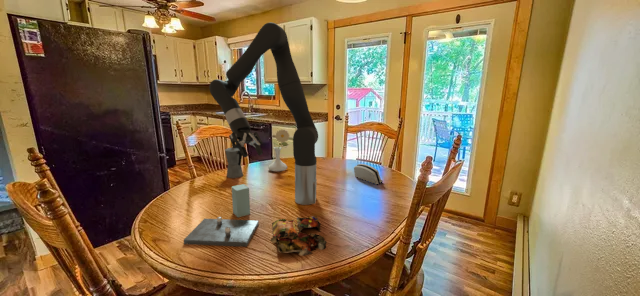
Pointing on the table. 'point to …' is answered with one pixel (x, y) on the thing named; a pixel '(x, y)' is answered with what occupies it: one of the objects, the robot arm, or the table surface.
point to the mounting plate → (222, 232)
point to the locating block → (240, 200)
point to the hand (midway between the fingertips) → (253, 155)
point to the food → (297, 236)
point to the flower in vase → (278, 164)
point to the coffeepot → (234, 162)
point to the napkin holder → (367, 173)
